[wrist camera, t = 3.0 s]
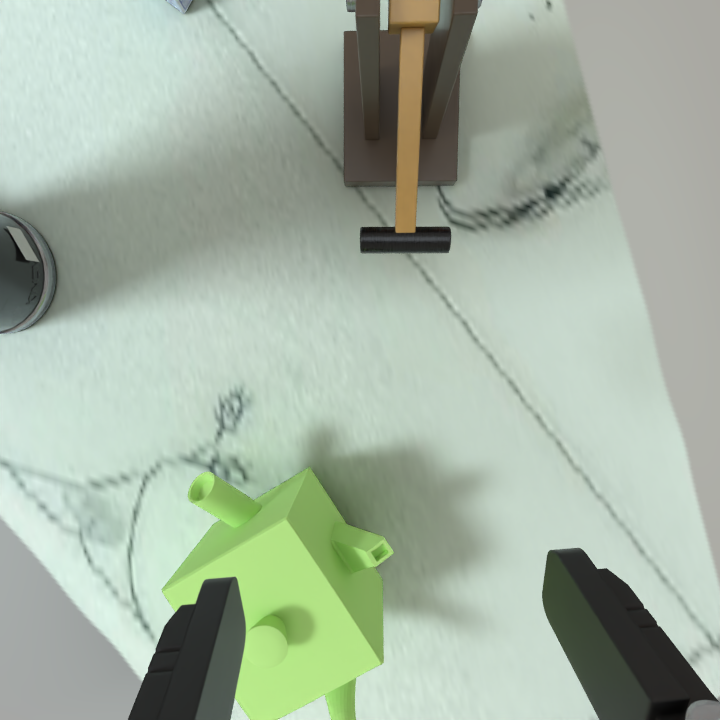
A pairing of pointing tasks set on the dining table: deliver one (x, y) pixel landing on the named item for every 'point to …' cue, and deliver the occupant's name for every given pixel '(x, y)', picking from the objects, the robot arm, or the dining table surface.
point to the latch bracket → (380, 96)
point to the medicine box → (180, 4)
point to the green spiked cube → (291, 592)
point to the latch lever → (408, 136)
